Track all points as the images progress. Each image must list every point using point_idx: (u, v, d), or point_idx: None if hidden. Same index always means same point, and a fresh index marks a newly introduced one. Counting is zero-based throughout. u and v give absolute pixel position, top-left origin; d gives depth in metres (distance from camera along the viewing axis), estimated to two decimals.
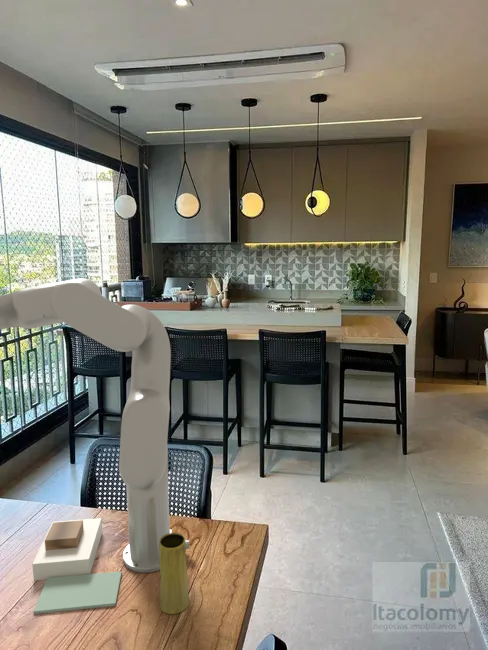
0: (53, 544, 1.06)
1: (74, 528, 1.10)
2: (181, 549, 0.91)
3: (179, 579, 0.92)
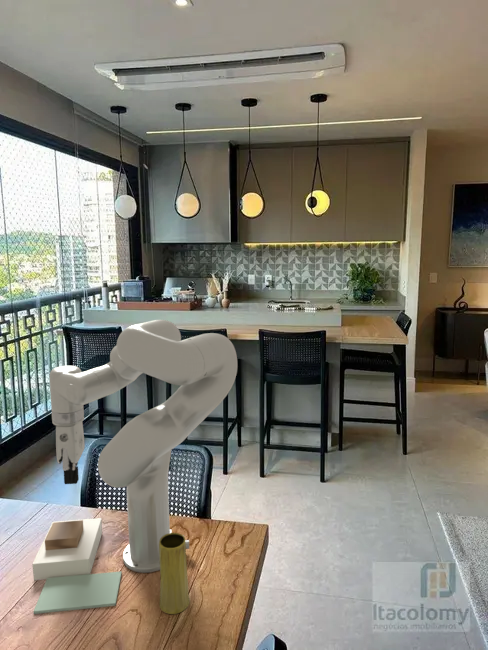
0: (53, 544, 1.06)
1: (74, 528, 1.10)
2: (181, 549, 0.91)
3: (179, 579, 0.92)
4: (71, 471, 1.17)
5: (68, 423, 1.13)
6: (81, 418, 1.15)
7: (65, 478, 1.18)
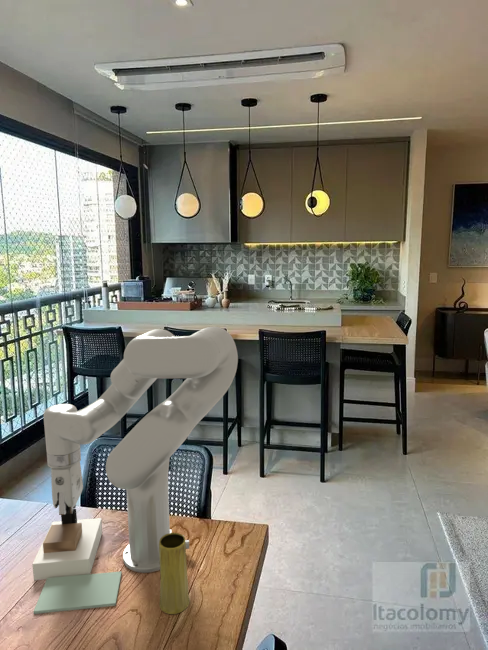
0: (51, 547, 1.05)
1: (73, 531, 1.09)
2: (181, 549, 0.91)
3: (179, 579, 0.92)
4: (69, 515, 1.12)
5: (64, 465, 1.07)
6: (78, 459, 1.10)
7: (63, 522, 1.13)
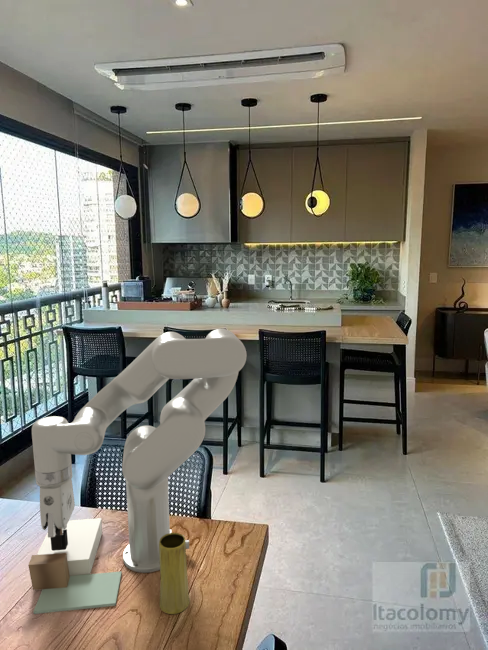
0: None
1: (58, 574, 0.97)
2: (181, 549, 0.91)
3: (179, 579, 0.92)
4: (59, 536, 1.03)
5: (53, 484, 0.99)
6: (69, 476, 1.01)
7: (52, 544, 1.04)
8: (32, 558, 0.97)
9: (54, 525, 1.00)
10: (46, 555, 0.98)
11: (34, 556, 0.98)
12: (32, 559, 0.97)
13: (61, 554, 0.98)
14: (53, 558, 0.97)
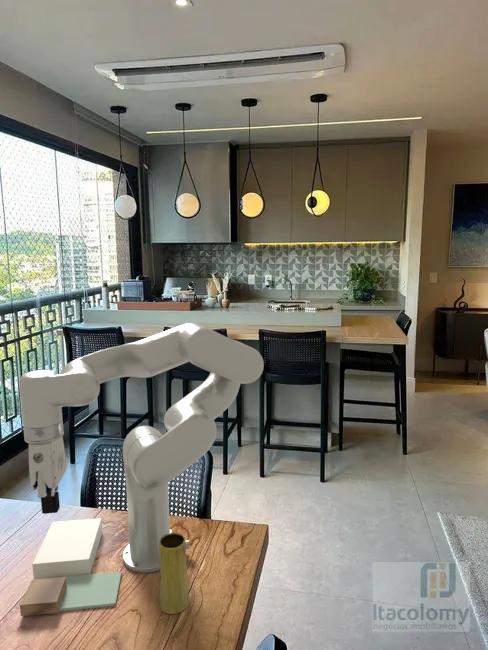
0: None
1: None
2: (181, 549, 0.91)
3: (179, 579, 0.92)
4: (50, 498, 0.97)
5: (43, 440, 0.92)
6: (60, 433, 0.95)
7: (43, 506, 0.98)
8: (21, 608, 0.91)
9: (44, 485, 0.93)
10: (35, 605, 0.91)
11: (22, 605, 0.91)
12: (22, 609, 0.91)
13: (51, 603, 0.91)
14: (45, 608, 0.91)
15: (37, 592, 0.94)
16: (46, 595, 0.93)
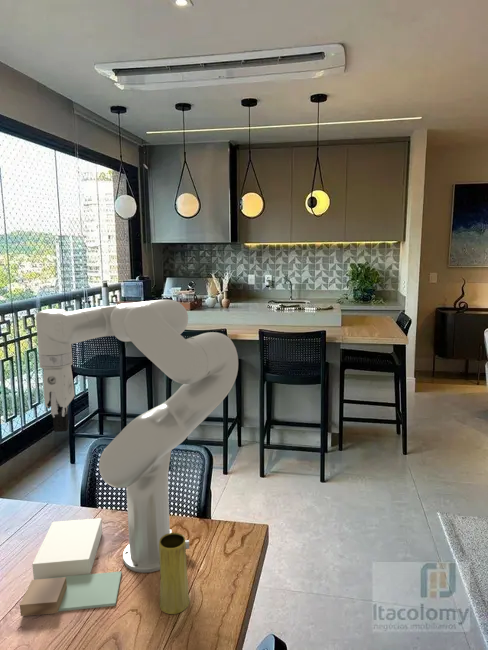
0: None
1: None
2: (181, 549, 0.91)
3: (179, 579, 0.92)
4: (60, 418, 1.14)
5: (56, 366, 1.10)
6: (69, 362, 1.13)
7: (55, 425, 1.15)
8: (21, 608, 0.91)
9: (56, 404, 1.11)
10: (35, 605, 0.91)
11: (22, 605, 0.91)
12: (22, 609, 0.91)
13: (51, 603, 0.91)
14: (45, 608, 0.91)
15: (37, 592, 0.94)
16: (46, 595, 0.93)
